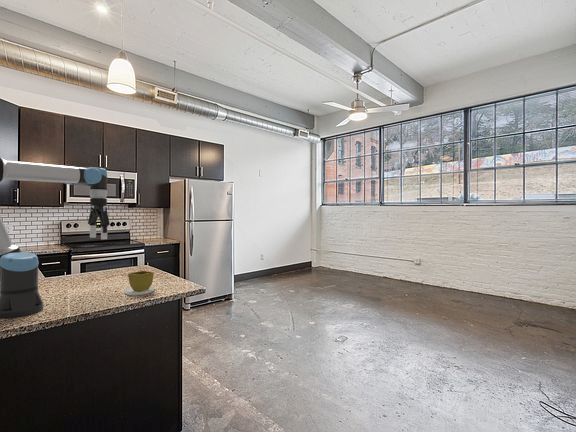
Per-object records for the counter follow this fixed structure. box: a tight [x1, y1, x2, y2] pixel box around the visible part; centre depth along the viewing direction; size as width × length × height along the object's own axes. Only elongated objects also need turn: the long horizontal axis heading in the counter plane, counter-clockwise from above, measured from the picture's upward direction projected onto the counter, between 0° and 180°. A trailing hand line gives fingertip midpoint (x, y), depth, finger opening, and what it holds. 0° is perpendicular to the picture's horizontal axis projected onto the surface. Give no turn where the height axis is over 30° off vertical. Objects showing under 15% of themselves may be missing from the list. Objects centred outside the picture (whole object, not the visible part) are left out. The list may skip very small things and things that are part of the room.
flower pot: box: [127, 270, 155, 292], centre depth 156 cm, size 9×9×9 cm
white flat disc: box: [123, 286, 155, 296], centre depth 158 cm, size 14×14×1 cm
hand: (98, 238), depth 161 cm, fingers open, 13 cm apart
